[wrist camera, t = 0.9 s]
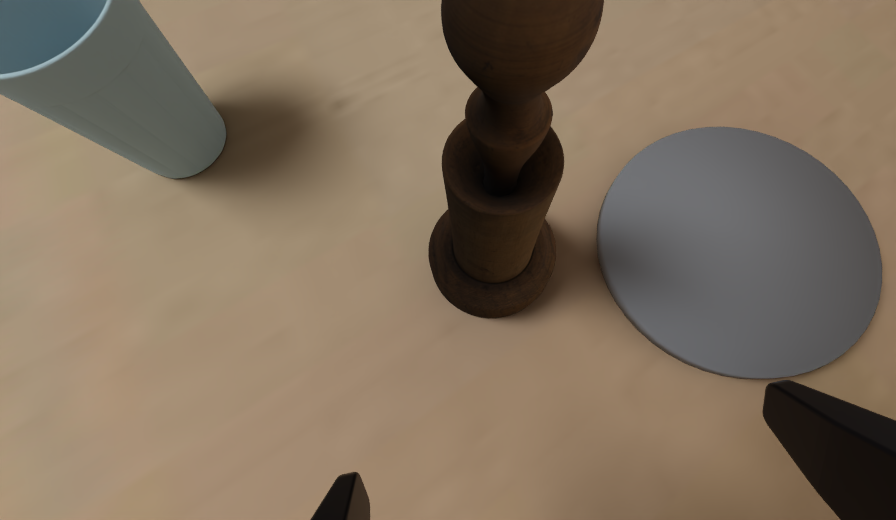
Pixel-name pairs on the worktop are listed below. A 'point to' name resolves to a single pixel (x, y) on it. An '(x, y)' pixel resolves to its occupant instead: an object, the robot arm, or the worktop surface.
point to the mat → (739, 253)
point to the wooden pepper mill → (505, 148)
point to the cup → (109, 81)
